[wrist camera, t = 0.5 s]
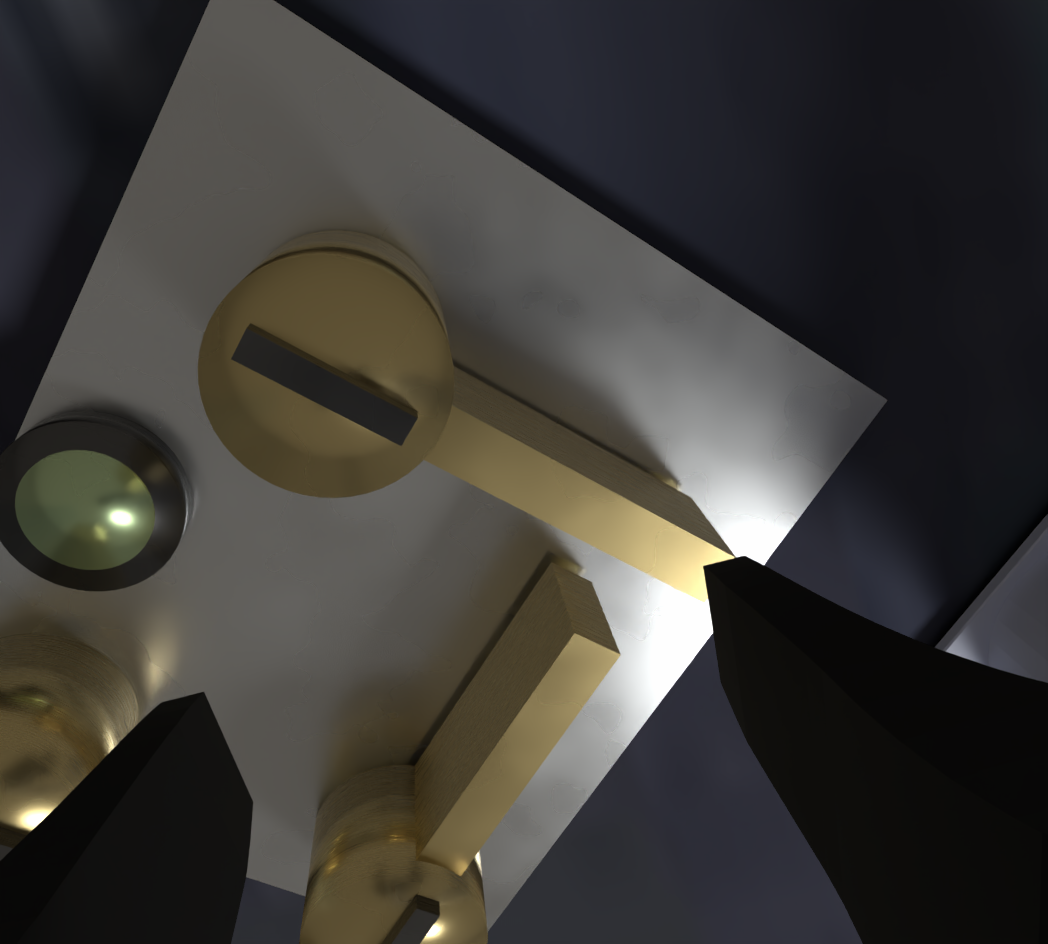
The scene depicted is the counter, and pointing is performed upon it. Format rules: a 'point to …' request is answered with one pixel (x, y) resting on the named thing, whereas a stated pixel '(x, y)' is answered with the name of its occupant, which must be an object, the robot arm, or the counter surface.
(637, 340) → the levelling plate
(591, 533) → the knob
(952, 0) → the counter surface
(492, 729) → the knob
